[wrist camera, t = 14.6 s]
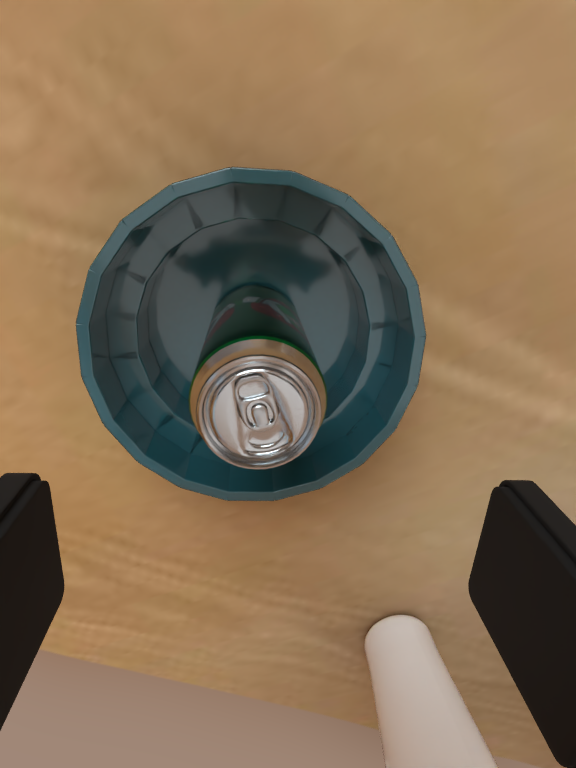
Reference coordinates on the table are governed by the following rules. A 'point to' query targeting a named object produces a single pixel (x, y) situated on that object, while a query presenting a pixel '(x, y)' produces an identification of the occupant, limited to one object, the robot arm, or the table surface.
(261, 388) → the soda can
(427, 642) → the drinking glass
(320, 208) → the bowl
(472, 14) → the table surface
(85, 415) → the table surface
